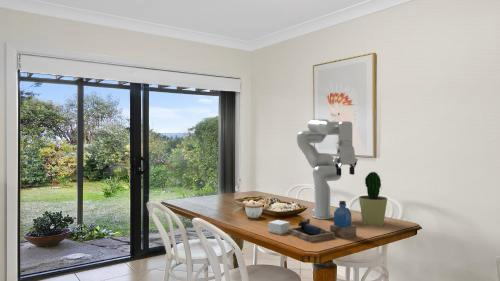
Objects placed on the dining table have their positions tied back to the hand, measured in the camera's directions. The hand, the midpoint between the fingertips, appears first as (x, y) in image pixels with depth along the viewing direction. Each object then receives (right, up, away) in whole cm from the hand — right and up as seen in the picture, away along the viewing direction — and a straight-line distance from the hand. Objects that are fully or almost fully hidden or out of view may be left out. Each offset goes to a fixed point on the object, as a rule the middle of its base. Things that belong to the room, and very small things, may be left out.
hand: (345, 174), depth 202 cm
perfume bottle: (-6, -24, -19) cm, 31 cm away
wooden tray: (-22, -29, -19) cm, 41 cm away
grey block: (-38, -29, -11) cm, 48 cm away
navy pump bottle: (-21, -29, -17) cm, 39 cm away
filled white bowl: (-50, -29, +25) cm, 63 cm away
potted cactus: (+17, -28, +6) cm, 34 cm away
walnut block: (-6, -28, -19) cm, 35 cm away
